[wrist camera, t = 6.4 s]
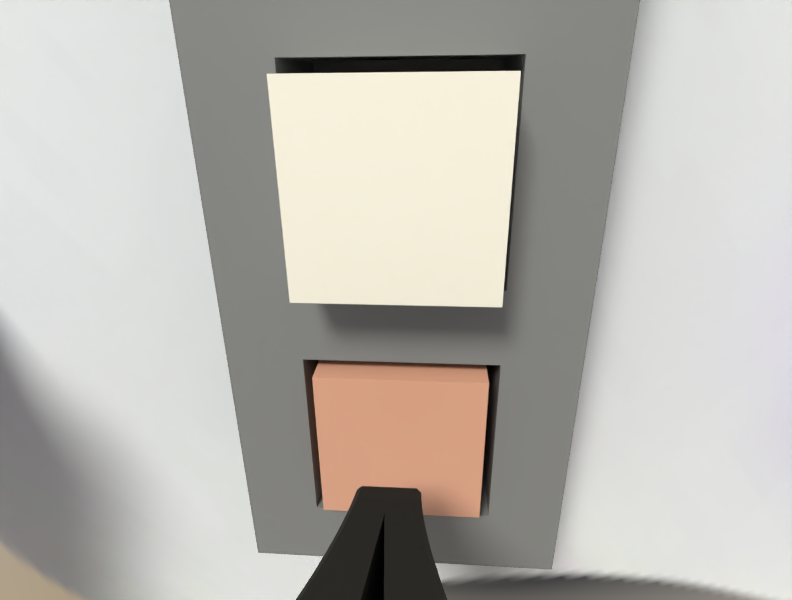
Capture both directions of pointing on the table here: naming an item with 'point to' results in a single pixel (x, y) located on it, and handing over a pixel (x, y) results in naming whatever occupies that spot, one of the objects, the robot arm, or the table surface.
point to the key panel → (408, 324)
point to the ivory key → (395, 185)
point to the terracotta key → (402, 431)
